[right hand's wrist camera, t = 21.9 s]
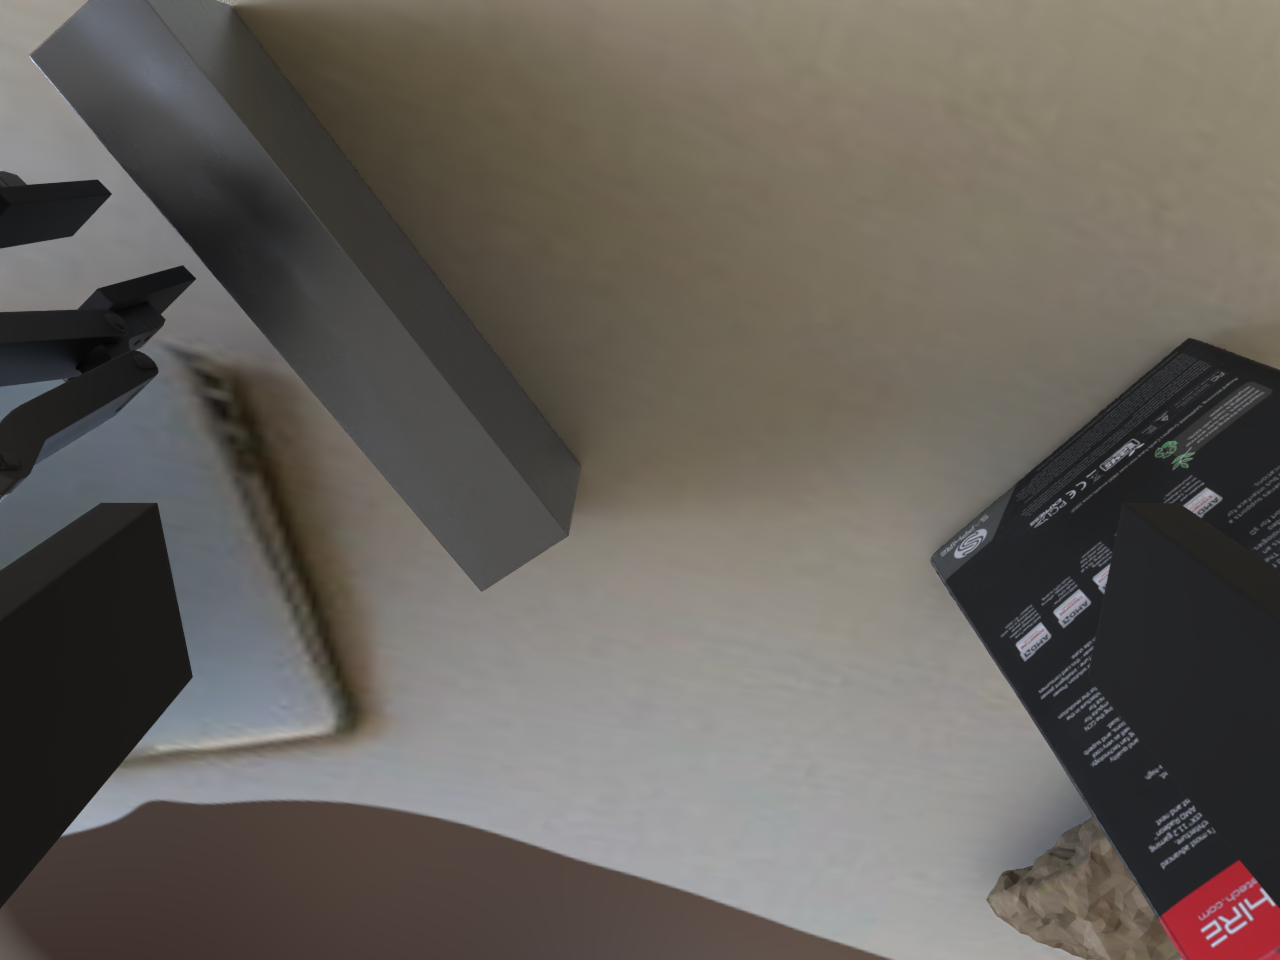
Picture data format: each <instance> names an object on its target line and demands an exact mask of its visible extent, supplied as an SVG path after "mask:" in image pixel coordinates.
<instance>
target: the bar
mask: <svg viewBox="0 0 1280 960" xmlns="http://www.w3.org/2000/svg"><path fill="white" fill-rule="evenodd" d="M29 57H30V58H31V60H32V61H33V62H34V63H35V64H36V66H37V67H38V68H39V69H40V70H41V71H42V73H43V74H44V75H45V76H46V77H47V79H48V80H49V81H50V82H51V83H52V84H53V86H54V87H55V88H56V89H57V90H58V92H59V93H60V94H61V95H62V96H63V97H64V99H65V100H66V101H67V102H68V103H69V105H70V106H71V107H72V108H73V109H74V110H75V112H76V113H77V114H78V115H79V116H80V118H81V119H82V120H83V121H84V122H85V123H86V125H87V126H88V127H89V128H90V129H91V131H92V132H93V133H94V134H95V135H96V137H97V138H98V139H99V140H100V141H101V142H102V144H103V145H104V146H105V147H106V148H107V150H108V151H109V152H110V153H111V154H112V155H113V157H114V158H115V159H116V160H117V161H118V163H119V164H120V165H121V166H122V167H123V168H124V170H125V171H126V172H127V173H128V174H129V176H130V177H131V178H132V179H133V180H134V181H135V183H136V184H137V185H138V186H139V187H140V189H141V190H142V191H143V192H144V193H145V194H146V196H147V197H148V198H149V199H150V200H151V202H152V203H153V204H154V205H155V206H156V207H157V209H158V210H159V211H160V212H161V213H162V215H163V216H164V217H165V218H166V219H167V220H168V222H169V223H170V224H171V225H172V226H173V228H174V229H175V230H176V231H177V232H178V233H179V235H180V236H181V237H182V238H183V239H184V241H185V242H186V243H187V244H188V245H189V246H190V248H191V249H192V250H193V251H194V252H195V254H196V255H197V256H198V257H199V258H200V259H201V261H202V262H203V263H204V264H205V265H206V267H207V268H208V269H209V270H210V271H211V272H212V274H213V275H214V276H215V277H216V278H217V280H218V281H219V282H220V283H221V284H222V285H223V287H224V288H225V289H226V290H227V291H228V293H229V294H230V295H231V296H232V297H233V298H234V300H235V301H236V302H237V303H238V304H239V306H240V307H241V308H242V309H243V310H244V311H245V313H246V314H247V315H248V316H249V317H250V319H251V320H252V321H253V322H254V323H255V324H256V326H257V327H258V328H259V329H260V330H261V332H262V333H263V334H264V335H265V336H266V337H267V339H268V340H269V341H270V342H271V343H272V345H273V346H274V347H275V348H276V349H277V350H278V352H279V353H280V354H281V355H282V356H283V358H284V359H285V360H286V361H287V362H288V363H289V365H290V366H291V367H292V368H293V369H294V371H295V372H296V373H297V374H298V375H299V376H300V378H301V379H302V380H303V381H304V382H305V384H306V385H307V386H308V387H309V388H310V390H311V391H312V392H313V393H314V394H315V395H316V397H317V398H318V399H319V400H320V401H321V403H322V404H323V405H324V406H325V407H326V408H327V410H328V411H329V412H330V413H331V414H332V416H333V417H334V418H335V419H336V420H337V421H338V423H339V424H340V425H341V426H342V427H343V429H344V430H345V431H346V432H347V433H348V434H349V436H350V437H351V438H352V439H353V440H354V442H355V443H356V444H357V445H358V446H359V447H360V449H361V450H362V451H363V452H364V453H365V455H366V456H367V457H368V458H369V459H370V460H371V462H372V463H373V464H374V465H375V466H376V468H377V469H378V470H379V471H380V472H381V473H382V475H383V476H384V477H385V478H386V479H387V481H388V482H389V483H390V484H391V485H392V486H393V488H394V489H395V490H396V491H397V492H398V494H399V495H400V496H401V497H402V498H403V499H404V501H405V502H406V503H407V504H408V505H409V507H410V508H411V509H412V510H413V511H414V512H415V514H416V515H417V516H418V517H419V518H420V520H421V521H422V522H423V523H424V524H425V525H426V527H427V528H428V529H429V530H430V531H431V533H432V534H433V535H434V536H435V537H436V538H437V540H438V541H439V542H440V543H441V544H442V546H443V547H444V548H445V549H446V550H447V551H448V553H449V554H450V555H451V556H452V557H453V559H454V560H455V561H456V562H457V563H458V564H459V566H460V567H461V568H462V569H463V570H464V572H465V573H466V574H467V575H468V576H469V577H470V579H471V580H472V581H473V582H474V583H475V585H476V586H477V587H478V588H479V589H480V590H481V591H484V590H485V589H487V588H488V587H490V586H491V585H493V584H494V583H496V582H498V581H499V580H501V579H502V578H504V577H505V576H507V575H508V574H510V573H511V572H513V571H515V570H516V569H518V568H519V567H521V566H522V565H524V564H525V563H527V562H529V561H530V560H532V559H533V558H535V557H536V556H538V555H539V554H541V553H542V552H544V551H546V550H547V549H549V548H550V547H552V546H553V545H555V544H556V543H558V542H560V541H561V540H563V539H564V538H566V537H567V536H568V535H569V530H570V524H571V519H572V513H573V508H574V502H575V497H576V491H577V486H578V480H579V475H580V469H581V466H580V464H579V463H578V462H577V460H576V459H575V458H574V456H573V455H572V454H571V452H570V451H569V450H568V448H567V447H566V446H565V444H564V443H563V442H562V441H561V439H560V438H559V437H558V435H557V434H556V433H555V431H554V430H553V429H552V427H551V426H550V425H549V423H548V422H547V421H546V420H545V418H544V417H543V416H542V414H541V413H540V412H539V410H538V409H537V408H536V406H535V405H534V404H533V402H532V401H531V400H530V398H529V397H528V396H527V395H526V393H525V392H524V391H523V389H522V388H521V387H520V385H519V384H518V383H517V381H516V380H515V379H514V377H513V376H512V375H511V373H510V372H509V371H508V370H507V368H506V367H505V366H504V364H503V363H502V362H501V360H500V359H499V358H498V356H497V355H496V354H495V352H494V351H493V350H492V348H491V347H490V346H489V345H488V343H487V342H486V341H485V339H484V338H483V337H482V335H481V334H480V333H479V331H478V330H477V329H476V327H475V326H474V325H473V323H472V322H471V321H470V320H469V318H468V317H467V316H466V314H465V313H464V312H463V310H462V309H461V308H460V306H459V305H458V304H457V302H456V301H455V300H454V299H453V297H452V296H451V295H450V293H449V292H448V291H447V289H446V288H445V287H444V285H443V284H442V283H441V281H440V280H439V279H438V277H437V276H436V275H435V274H434V272H433V271H432V270H431V268H430V267H429V266H428V264H427V263H426V262H425V260H424V259H423V258H422V256H421V255H420V254H419V252H418V251H417V250H416V249H415V247H414V246H413V245H412V243H411V242H410V241H409V239H408V238H407V237H406V235H405V234H404V233H403V231H402V230H401V229H400V227H399V226H398V225H397V224H396V222H395V221H394V220H393V218H392V217H391V216H390V214H389V213H388V212H387V210H386V209H385V208H384V206H383V205H382V204H381V202H380V201H379V200H378V199H377V197H376V196H375V195H374V193H373V192H372V191H371V189H370V188H369V187H368V185H367V184H366V183H365V181H364V180H363V179H362V177H361V176H360V175H359V174H358V172H357V171H356V170H355V168H354V167H353V166H352V164H351V163H350V162H349V160H348V159H347V158H346V156H345V155H344V154H343V153H342V151H341V150H340V149H339V147H338V146H337V145H336V143H335V142H334V141H333V139H332V138H331V137H330V135H329V134H328V133H327V131H326V130H325V129H324V128H323V126H322V125H321V124H320V122H319V121H318V120H317V118H316V117H315V116H314V114H313V113H312V112H311V110H310V109H309V108H308V106H307V105H306V104H305V103H304V101H303V100H302V99H301V97H300V96H299V95H298V93H297V92H296V91H295V89H294V88H293V87H292V85H291V84H290V83H289V81H288V80H287V79H286V78H285V76H284V75H283V74H282V72H281V71H280V70H279V68H278V67H277V66H276V64H275V63H274V62H273V60H272V59H271V58H270V56H269V55H268V54H267V53H266V51H265V50H264V49H263V47H262V46H261V45H260V43H259V42H258V41H257V39H256V38H255V37H254V35H253V34H252V33H251V32H250V30H249V29H248V28H247V26H246V25H245V24H244V22H243V21H242V20H241V18H240V17H239V16H238V14H237V13H236V12H235V10H234V9H233V8H232V7H231V5H228V4H225V3H222V2H219V1H216V0H89V1H88V2H87V3H86V4H85V5H84V6H83V7H81V8H80V9H79V10H78V11H77V12H76V13H75V14H74V15H73V16H72V17H71V18H69V19H68V20H67V21H66V22H65V23H64V24H63V25H62V26H61V27H60V28H58V29H57V30H56V31H55V32H54V33H53V34H52V35H51V36H50V37H49V38H48V39H46V40H45V41H44V42H43V43H42V44H41V45H40V46H39V47H38V48H37V49H36V50H34V51H33V52H32V53H31V54H30V55H29Z"/></svg>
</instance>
